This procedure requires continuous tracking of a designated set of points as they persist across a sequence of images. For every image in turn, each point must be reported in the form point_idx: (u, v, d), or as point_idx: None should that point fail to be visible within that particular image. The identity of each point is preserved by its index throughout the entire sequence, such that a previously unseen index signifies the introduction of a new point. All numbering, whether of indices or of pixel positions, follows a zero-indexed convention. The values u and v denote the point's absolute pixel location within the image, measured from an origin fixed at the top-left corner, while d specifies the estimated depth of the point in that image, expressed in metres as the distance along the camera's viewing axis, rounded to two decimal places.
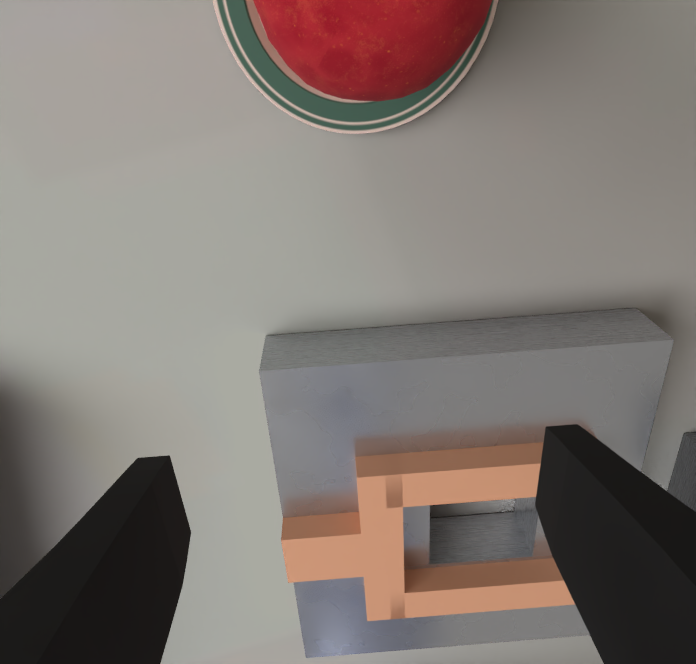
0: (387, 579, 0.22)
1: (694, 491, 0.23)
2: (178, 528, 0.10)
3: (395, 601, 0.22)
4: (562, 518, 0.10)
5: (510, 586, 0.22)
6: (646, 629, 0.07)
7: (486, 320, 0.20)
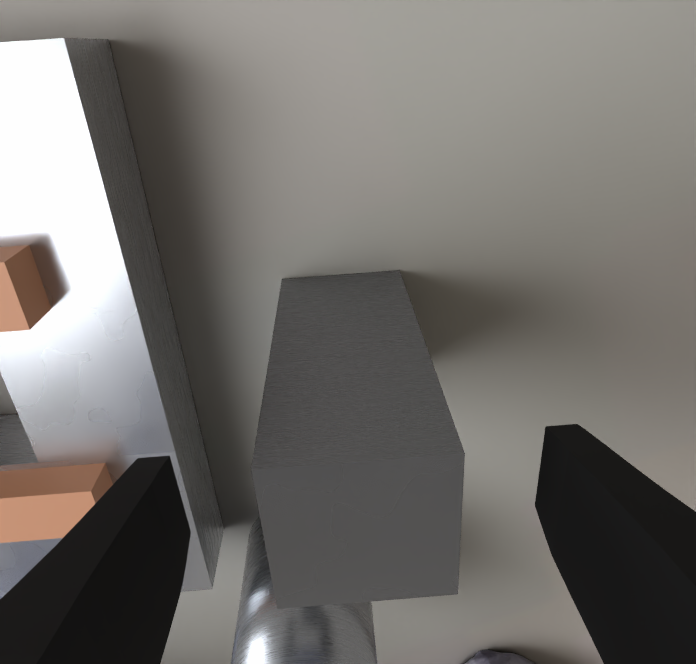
0: None
1: None
2: (178, 528, 0.10)
3: None
4: (562, 519, 0.10)
5: None
6: (646, 629, 0.07)
7: None
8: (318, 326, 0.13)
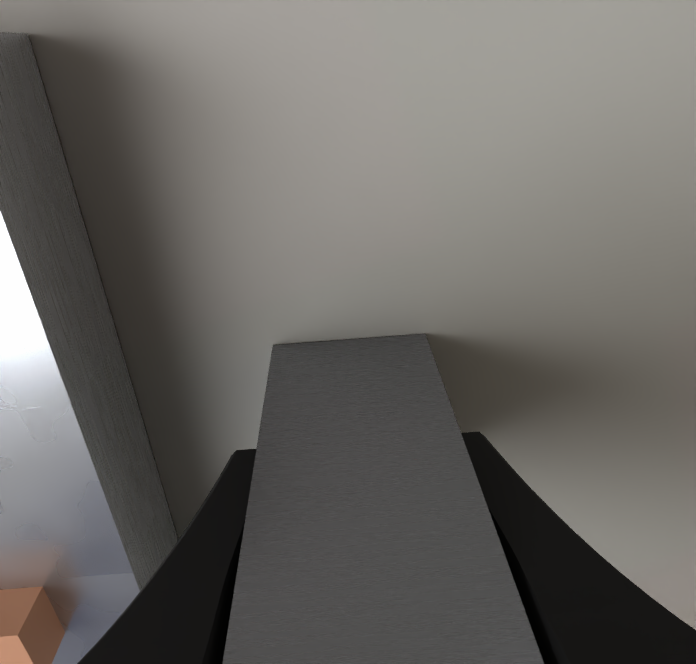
0: None
1: None
2: None
3: None
4: None
5: None
6: None
7: None
8: (319, 430, 0.09)
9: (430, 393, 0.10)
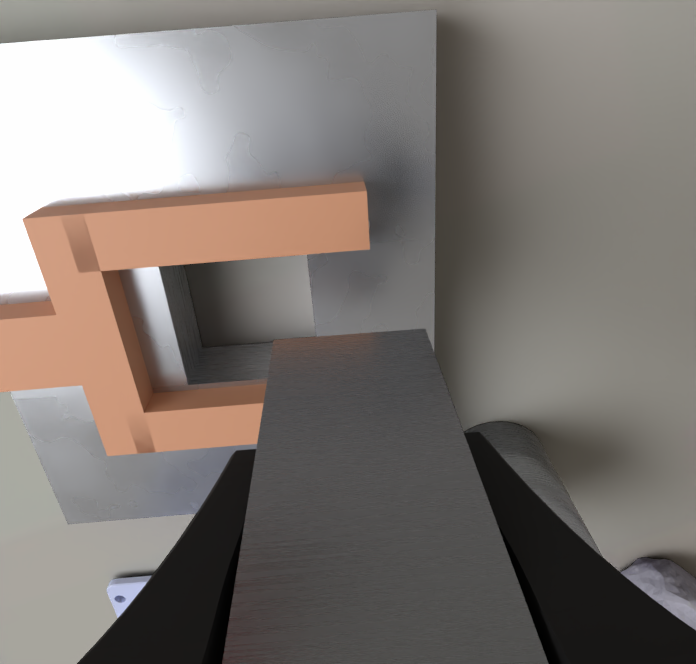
0: (114, 390, 0.17)
1: None
2: None
3: (135, 425, 0.17)
4: None
5: None
6: None
7: None
8: (320, 423, 0.09)
9: (430, 386, 0.10)
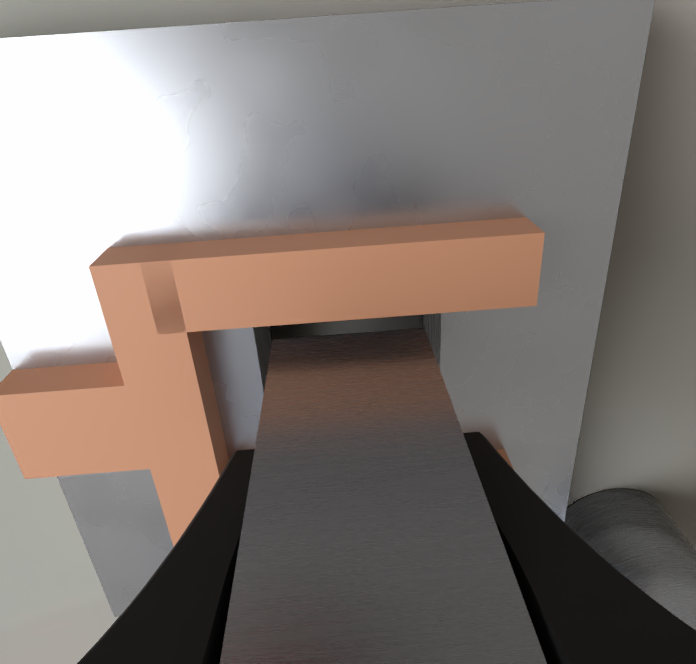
0: (190, 474, 0.13)
1: None
2: None
3: None
4: None
5: None
6: None
7: None
8: (319, 422, 0.09)
9: (429, 386, 0.10)
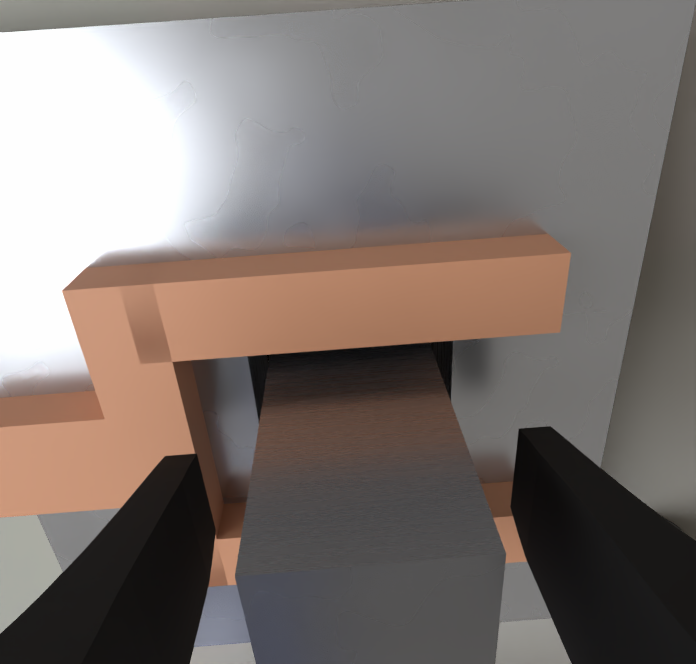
0: None
1: None
2: (205, 526, 0.10)
3: None
4: (534, 520, 0.10)
5: None
6: (609, 632, 0.07)
7: None
8: (319, 365, 0.11)
9: None
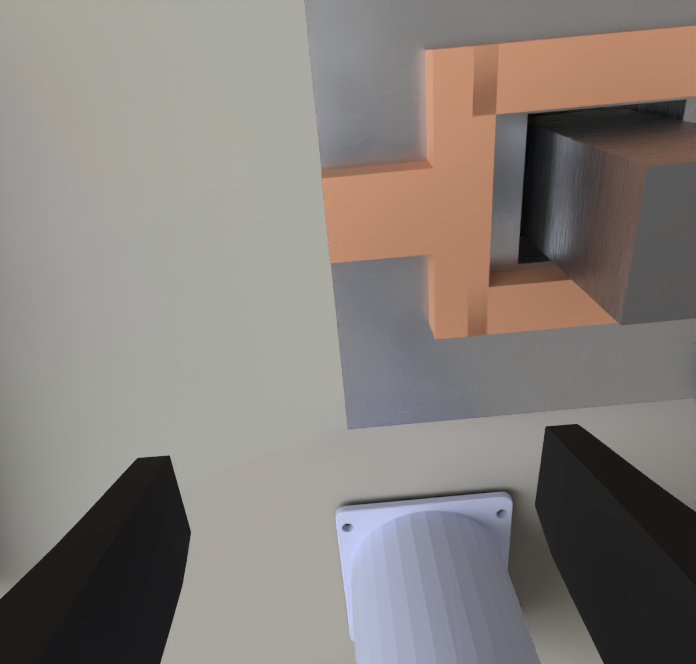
0: (466, 259, 0.16)
1: (526, 190, 0.17)
2: (178, 528, 0.10)
3: (475, 302, 0.16)
4: (562, 519, 0.10)
5: None
6: (646, 629, 0.07)
7: None
8: (591, 127, 0.15)
9: (650, 117, 0.15)
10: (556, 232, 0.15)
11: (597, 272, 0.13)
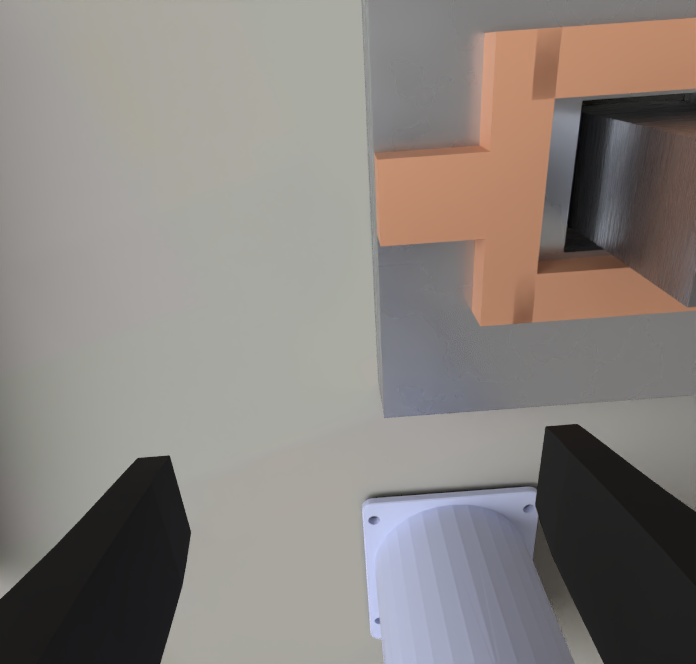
0: (516, 245, 0.16)
1: (573, 179, 0.17)
2: (178, 528, 0.10)
3: (522, 289, 0.16)
4: (562, 519, 0.10)
5: None
6: (646, 629, 0.07)
7: None
8: (647, 114, 0.15)
9: None
10: (610, 218, 0.15)
11: (659, 255, 0.13)
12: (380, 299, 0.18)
